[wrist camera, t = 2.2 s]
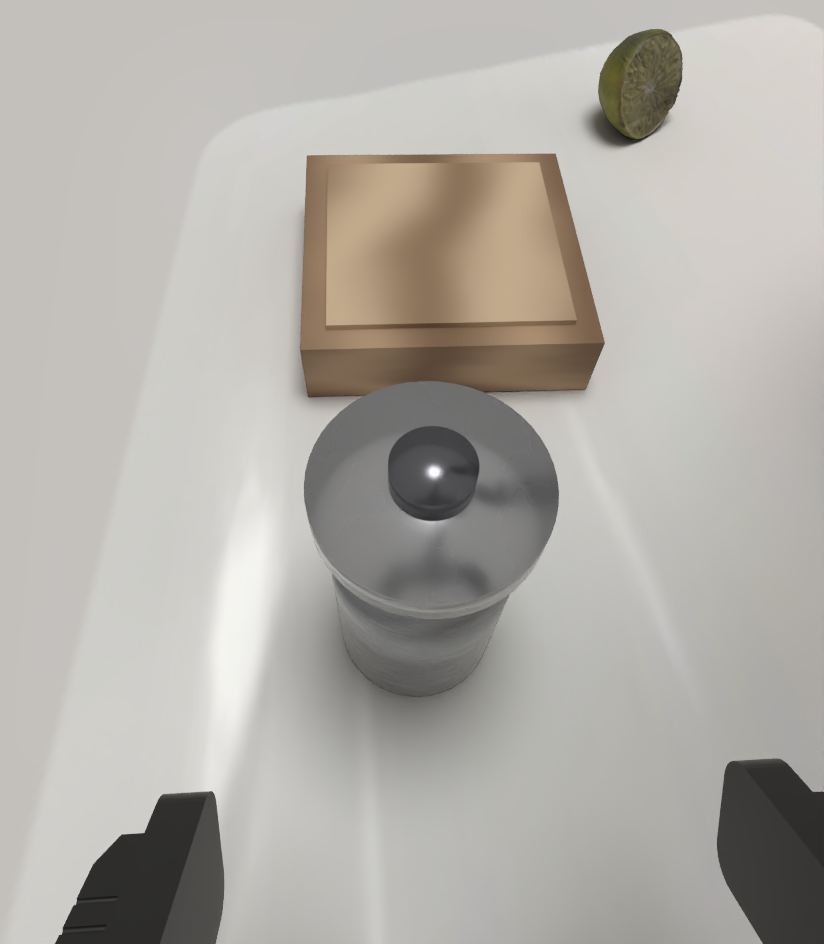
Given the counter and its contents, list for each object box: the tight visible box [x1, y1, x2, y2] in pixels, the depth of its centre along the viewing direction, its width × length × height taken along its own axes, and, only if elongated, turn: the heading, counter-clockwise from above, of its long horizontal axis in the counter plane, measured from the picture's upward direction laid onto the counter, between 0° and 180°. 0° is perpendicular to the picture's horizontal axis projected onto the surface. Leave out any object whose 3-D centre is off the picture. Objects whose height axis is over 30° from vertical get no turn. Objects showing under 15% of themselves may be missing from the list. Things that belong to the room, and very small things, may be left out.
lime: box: [598, 29, 683, 139], centre depth 37 cm, size 4×5×5 cm
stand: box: [300, 154, 605, 397], centre depth 31 cm, size 12×12×3 cm
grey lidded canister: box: [304, 381, 559, 696], centre depth 20 cm, size 6×6×11 cm
